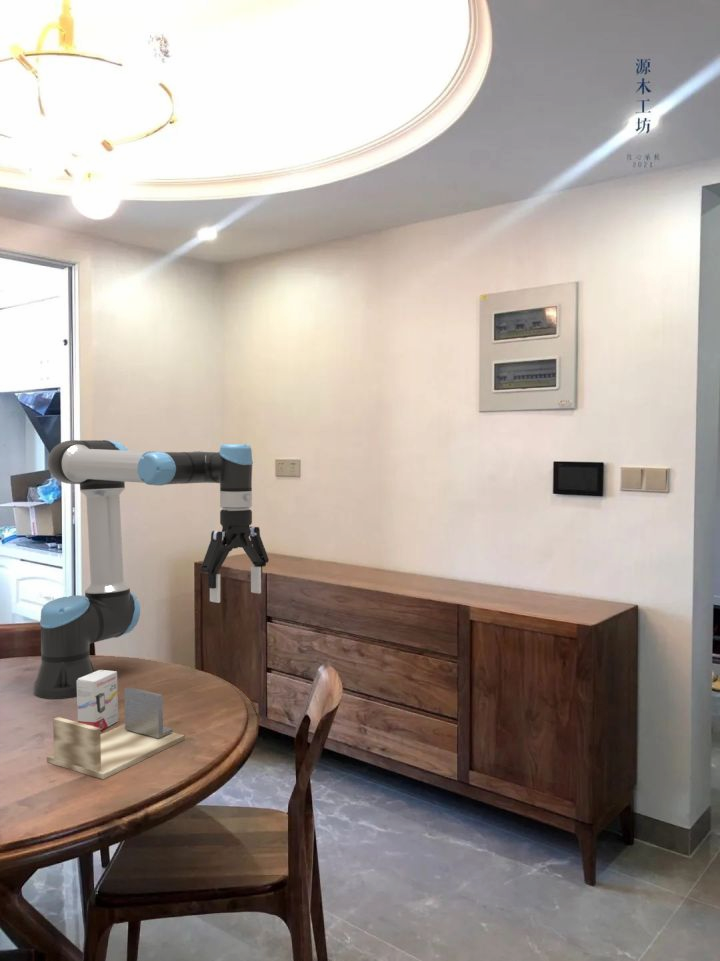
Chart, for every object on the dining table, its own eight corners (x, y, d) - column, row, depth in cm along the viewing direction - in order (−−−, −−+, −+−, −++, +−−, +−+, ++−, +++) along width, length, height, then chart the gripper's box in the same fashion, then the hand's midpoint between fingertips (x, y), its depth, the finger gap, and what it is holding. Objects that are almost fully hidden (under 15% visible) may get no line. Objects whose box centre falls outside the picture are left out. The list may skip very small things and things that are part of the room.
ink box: (95, 735, 161) (94, 681, 161) (75, 732, 163) (75, 679, 162) (119, 721, 170) (119, 670, 169) (100, 719, 171) (100, 668, 171)
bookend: (124, 729, 161) (124, 688, 161) (139, 723, 165) (139, 683, 165) (158, 738, 156) (158, 696, 156) (172, 731, 160) (172, 690, 160)
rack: (46, 761, 148) (46, 717, 147) (130, 726, 167) (130, 686, 166) (102, 779, 140) (102, 732, 139) (184, 739, 159) (184, 698, 159)
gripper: (207, 513, 164) (207, 608, 165) (282, 506, 184) (282, 591, 185) (184, 511, 169) (185, 603, 170) (260, 504, 189) (260, 587, 190)
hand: (236, 597), depth 178 cm, fingers open, 13 cm apart
